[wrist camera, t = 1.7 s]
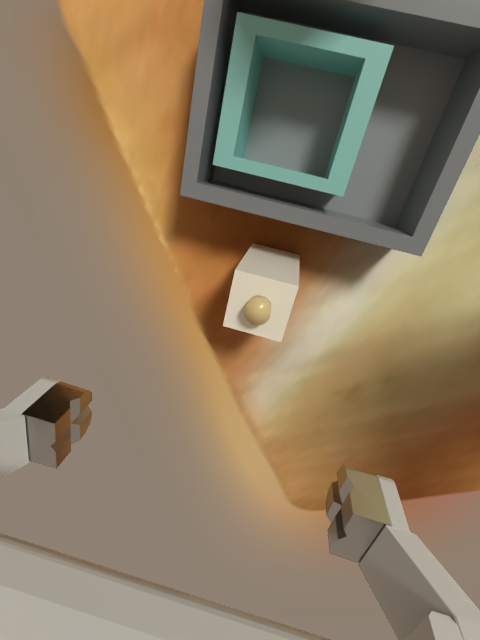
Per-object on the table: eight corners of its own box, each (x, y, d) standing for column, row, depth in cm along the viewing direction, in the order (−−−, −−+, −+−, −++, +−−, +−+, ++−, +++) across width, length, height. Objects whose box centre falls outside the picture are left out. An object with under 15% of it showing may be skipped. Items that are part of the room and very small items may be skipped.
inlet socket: (378, 66, 20) (394, 45, 17) (337, 192, 24) (343, 196, 20) (248, 38, 21) (237, 11, 17) (225, 165, 24) (212, 164, 21)
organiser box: (485, 46, 20) (538, 11, 15) (400, 240, 25) (421, 256, 21) (230, -8, 21) (211, -56, 16) (200, 190, 26) (179, 195, 22)
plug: (299, 254, 27) (298, 291, 19) (286, 298, 29) (280, 349, 21) (252, 242, 27) (231, 274, 19) (242, 287, 29) (219, 332, 21)
